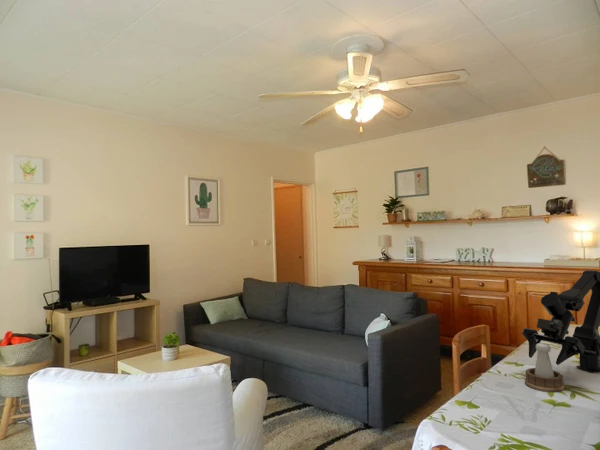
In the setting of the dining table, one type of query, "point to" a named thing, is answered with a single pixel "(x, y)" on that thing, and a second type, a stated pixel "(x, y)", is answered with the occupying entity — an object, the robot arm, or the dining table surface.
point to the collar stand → (544, 381)
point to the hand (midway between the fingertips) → (543, 360)
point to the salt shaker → (543, 361)
